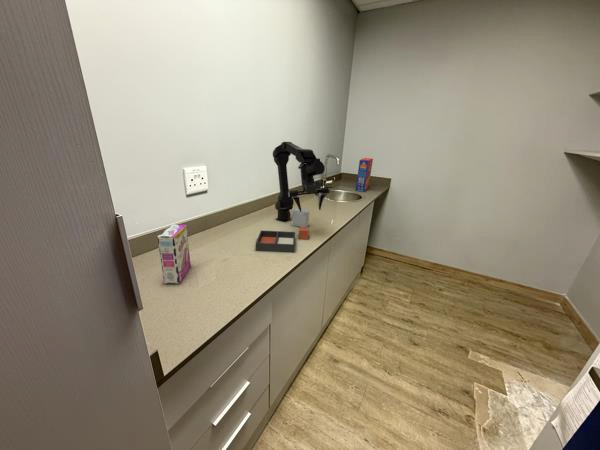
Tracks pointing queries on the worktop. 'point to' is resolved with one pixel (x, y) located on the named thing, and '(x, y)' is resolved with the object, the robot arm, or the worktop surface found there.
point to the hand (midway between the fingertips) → (310, 210)
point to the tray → (276, 241)
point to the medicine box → (300, 218)
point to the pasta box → (364, 174)
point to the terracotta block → (303, 232)
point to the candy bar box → (174, 253)
